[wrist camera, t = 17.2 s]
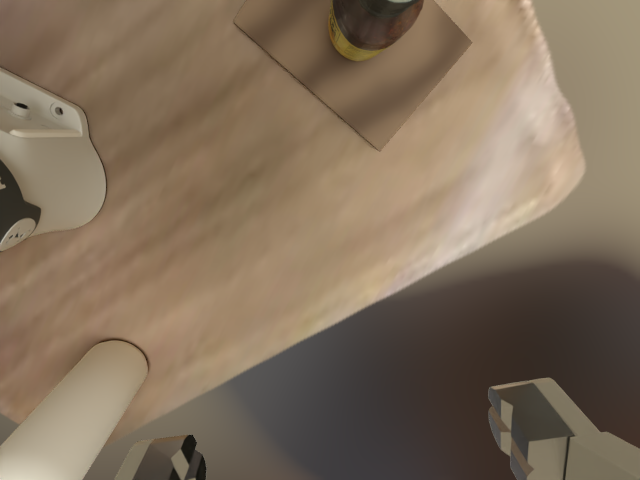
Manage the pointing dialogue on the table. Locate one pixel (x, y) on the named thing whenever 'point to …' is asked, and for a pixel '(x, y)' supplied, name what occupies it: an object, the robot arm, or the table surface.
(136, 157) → the table surface
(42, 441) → the alcohol
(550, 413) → the robot arm
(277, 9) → the walnut board
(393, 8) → the sauce bottle
